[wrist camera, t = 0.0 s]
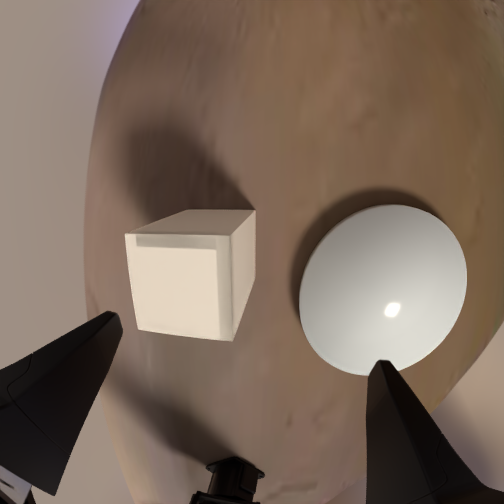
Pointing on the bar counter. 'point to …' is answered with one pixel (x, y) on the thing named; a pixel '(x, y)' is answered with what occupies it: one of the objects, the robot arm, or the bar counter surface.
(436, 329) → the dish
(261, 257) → the bar counter surface
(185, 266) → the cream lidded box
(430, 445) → the robot arm
